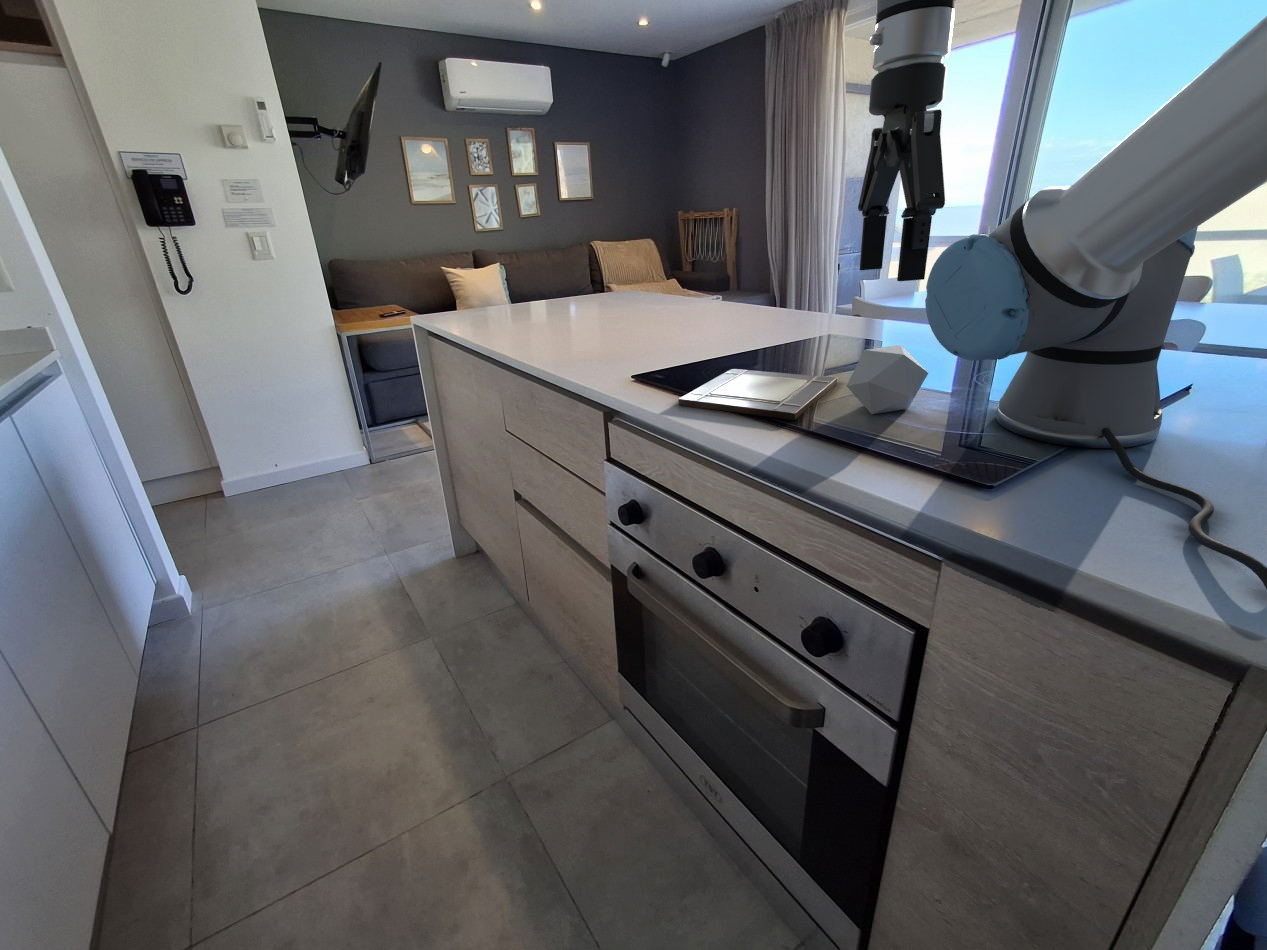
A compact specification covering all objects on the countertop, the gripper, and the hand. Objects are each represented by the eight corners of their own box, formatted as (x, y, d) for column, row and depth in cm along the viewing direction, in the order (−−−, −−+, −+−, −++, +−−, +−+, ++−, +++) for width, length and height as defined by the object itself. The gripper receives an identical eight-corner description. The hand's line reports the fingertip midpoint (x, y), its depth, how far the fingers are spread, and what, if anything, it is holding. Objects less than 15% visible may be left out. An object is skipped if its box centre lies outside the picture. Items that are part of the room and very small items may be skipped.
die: (920, 426, 72) (951, 353, 72) (860, 397, 70) (891, 323, 70) (881, 428, 80) (908, 363, 80) (827, 403, 79) (854, 336, 79)
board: (837, 383, 89) (837, 376, 88) (794, 420, 76) (795, 411, 75) (731, 374, 99) (731, 367, 98) (678, 405, 85) (678, 397, 85)
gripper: (840, 93, 73) (830, 268, 82) (920, 40, 51) (894, 288, 59) (900, 87, 73) (884, 263, 81) (1008, 30, 50) (969, 283, 59)
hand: (888, 274), depth 70 cm, fingers open, 13 cm apart
